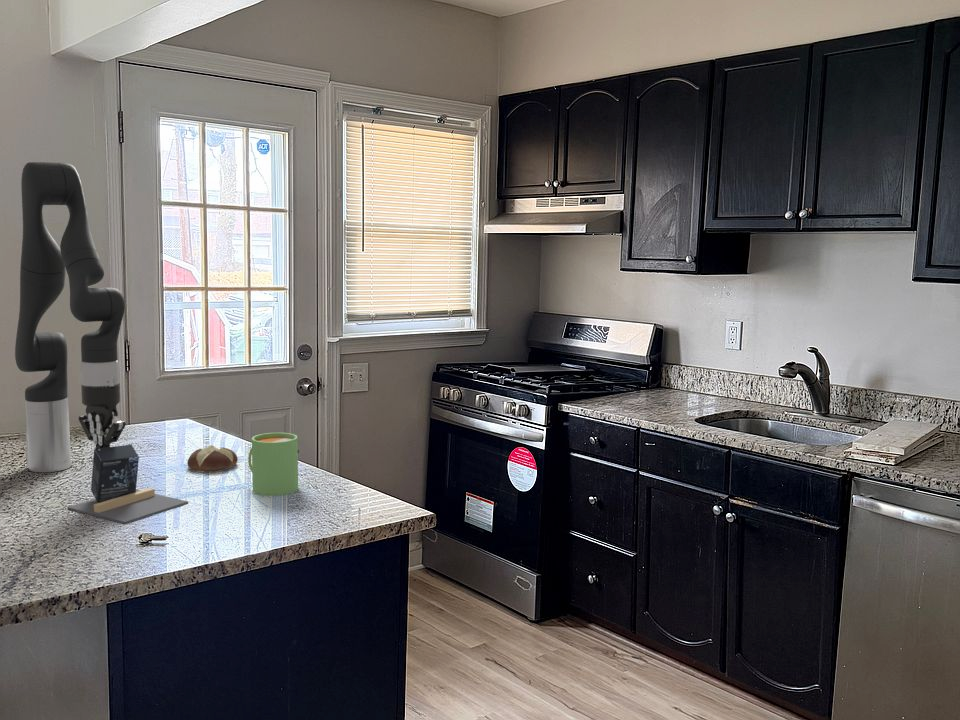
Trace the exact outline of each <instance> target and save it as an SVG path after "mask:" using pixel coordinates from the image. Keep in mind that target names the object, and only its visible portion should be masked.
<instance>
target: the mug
mask: <svg viewBox="0 0 960 720" xmlns="http://www.w3.org/2000/svg"><path fill="white" fill-rule="evenodd" d="M299 452H300V450H299V448H298V436H297V434H294V433H289V432H267V433H266V432H265V433H261V434H256V435H254V436H252V437H251V448H250V450H249V453H248V459H247V460H248V467H249V471H251V473H252V475H251V477H252V479H251V481H252V492H253V493H254V494H257V495H260V496H268V497H269V496H271V497H274V496H284V495H289V494H292V493H295V492H297V491H298V490H299V455H298V454H299Z"/></svg>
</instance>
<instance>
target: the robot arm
mask: <svg viewBox="0 0 960 720" xmlns="http://www.w3.org/2000/svg"><path fill="white" fill-rule="evenodd" d="M20 181H21V183H20V184H21V186H20V187H21V188H20V189H21V207H22V243H21V255H20V268H19V269H20V271H19V313H18V321H17V328H16V336H15V346H14V357H15V363H16V364H15V365H16V366H17V369H19V370H20V371H21V372H24V373H37V372H46V371H47V372H49V373H48V375H46V377H44V379H42V380H40V381H39V382H36V383H34V384H31V385H30V386H28V387H26V388H25V390H24V400H25V416H26V417H25V418H26V419H25V420H26V429H25V432H24V433H25V434H24V435H25V447H26V448H25V449H26V450H25V451H26V452H25V453H26V465H27V468H28V469H29V471H31V472H34V473H52V472H53V473H54V472H59V471H63V470H66V469H69V468H71V467H72V457H71V456H72V455H71V437H70V435H71V434H70V419H69V418H70V413H69V398H68V397H69V395H68V387H69V386H68V345H67V340H66V338H65V335H64V334H63V333H61V332H60V331H51V332H49V331H48V332H47V331H46V332H37V329H38V326H39V324H40V322H41V320H42V318H43V316H44V315H45V313H46V312H47V311H48V309H50V307H51V306H52V305H53V304H54V303H55V302H56V300H57V299H58V298H59V297H60V295H61V294H62V291H63V290H64V287H65V282H66V281H65V280H66V273H67V276H68V282H69V309H70V312H71V314H72V316H73V317H74V318H75V319H76V320H77V321H79V322H81V323H93V322H101V325H100V326H99V328H98V329H96V330H95V331H92V332H88V333H85V334H84V335H82V336H81V340H80V348H81V349H80V350H81V351H80V353H81V365H80V367H81V368H80V385H81V386H80V388H81V389H80V390H81V404H82V405H84V406H86V408H85V413H84V414H83V415H79V416H78V421H79V423H80V425H81V428H82V429H83V432H84V433H85V436H86V437H87V440H88V441H92V442H93V444H94V445H95V448H106V447H111V444H112V443H117V442H118V441H119V438H120V436H121V434H122V432H123V431H124V429H125V428H126V426H127V423H126V421H125V420H120V418H119V417H118V415H119V412H118V410H117V405H118V404H119V403H121V381H120V380H121V379H120V367H119V361H118V359H119V358H118V356H119V355H118V339H119V335H120V330H121V327H122V326H121V325H122V321H123V319H124V315H125V310H126V302H125V298H124V296H123V295H124V294H123V293H122V292H121V291H120V290H119V289H118V288H114V287H90V286H94V285H96V284H98V283H99V282H101V281H102V280H103V278H104V276H105V270H104V267H103V264H102V262H101V259H100V258H101V257H100V256H99V253H98V251H97V248H96V244H95V242H94V238H93V236H92V232H91V231H92V230H91V225H90V219H89V214H88V208H87V205H86V204H87V203H86V199H85V195H84V189H83V184H82V182H81V178H80V175H79V173H78V171H77V169H76V167H75V166H74V165H72V164H70V163H67V162H51V161H50V162H48V161H47V162H46V161H42V162H41V161H31V162H30V161H28V162H27V163H25V165H24V166H23V169H22V172H21V179H20ZM44 206H66V207H67V209H68V212H69V217H68V221H67V225H66V227H65V229H64V232H63V235H62V237H61V241H60V246H59V244H58V243H57V241H56V240H55V239H54V237H53V236H52V235H51V233H50V231H49V229H48V228H47V225H46V223H45V221H44V216H43V208H44Z"/></svg>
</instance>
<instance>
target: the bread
mask: <svg viewBox="0 0 960 720" xmlns="http://www.w3.org/2000/svg"><path fill="white" fill-rule="evenodd" d="M237 455H238V454H236V452H235V451H234V450H232V449H229V448H227V447H220V448H218V447H216V446H214V445H212V444H211V445H209V446H206V447H204V448H199V449H196V450H194V451H193V452H192V453H191V454H190V455H189V457H188V459H187V463H186V464H187V466H188V469H189V470H190V471H193V472H202V471H204V473H216V472H222V471H225V470H227V469H231V468H232V467H234V466H236V465H237V463H238V456H237Z"/></svg>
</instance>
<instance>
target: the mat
mask: <svg viewBox="0 0 960 720" xmlns="http://www.w3.org/2000/svg"><path fill="white" fill-rule="evenodd" d="M155 490H156V489H155V488H152V487H151V488H150V487H149V488H145V489H143V490H139V489H136V492H135V493H131V494H128V495H124V496H121V497H118V498H114V499H111V500H107V501H104V502H100V503H97V501H96V499H95V498H94V499H91V500H87V501H83V502H80V503H76V504H73V505H69V506H67V507H66V508H67V510H70V511H74V512H77V513H82V514H85V515H89V516H93V517H96V518H101V519H104V520H109V521H113V522H117V523H120V524H126V525H127V524H129V523H131V522H134V521H138V520H141V519H144V518H147V517H151V516H153V515H156V514H159V513H162V512H165V511H169V510H172V509H175V508H177V507H181V506H185V505H187V504H189V501H187V500H183V499H180V498H179V499H178V498H174V497H171V496H167V495H161V494H158V493H155Z"/></svg>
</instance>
